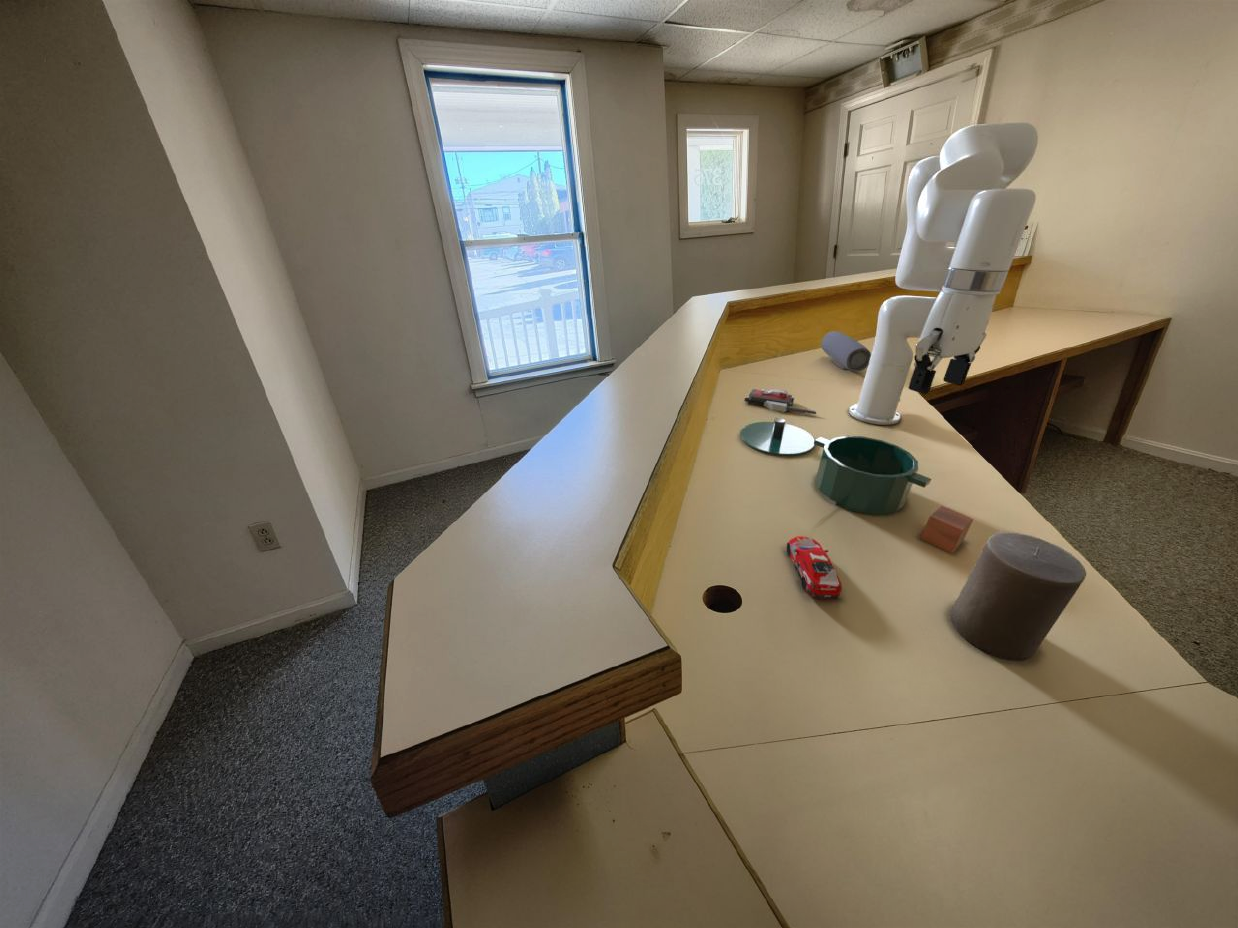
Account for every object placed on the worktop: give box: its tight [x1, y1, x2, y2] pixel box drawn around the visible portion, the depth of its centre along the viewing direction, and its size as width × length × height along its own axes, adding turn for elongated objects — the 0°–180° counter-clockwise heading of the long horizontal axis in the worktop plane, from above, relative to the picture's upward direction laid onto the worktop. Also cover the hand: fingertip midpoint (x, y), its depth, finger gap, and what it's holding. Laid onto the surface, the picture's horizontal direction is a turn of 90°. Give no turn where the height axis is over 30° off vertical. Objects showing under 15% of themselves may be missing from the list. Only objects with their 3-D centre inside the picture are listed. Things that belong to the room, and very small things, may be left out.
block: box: [920, 505, 975, 554], centre depth 78 cm, size 5×5×5 cm
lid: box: [739, 417, 816, 457], centre depth 111 cm, size 18×18×6 cm
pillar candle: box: [950, 531, 1087, 661], centre depth 59 cm, size 10×10×15 cm
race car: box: [786, 535, 842, 600], centre depth 72 cm, size 13×5×4 cm, turn 177°
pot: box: [814, 435, 932, 516], centre depth 91 cm, size 17×22×8 cm
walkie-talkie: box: [743, 388, 817, 415], centre depth 130 cm, size 9×4×20 cm
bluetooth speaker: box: [820, 330, 872, 373], centre depth 162 cm, size 23×9×10 cm, turn 179°
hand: (935, 387), depth 78 cm, fingers open, 9 cm apart
